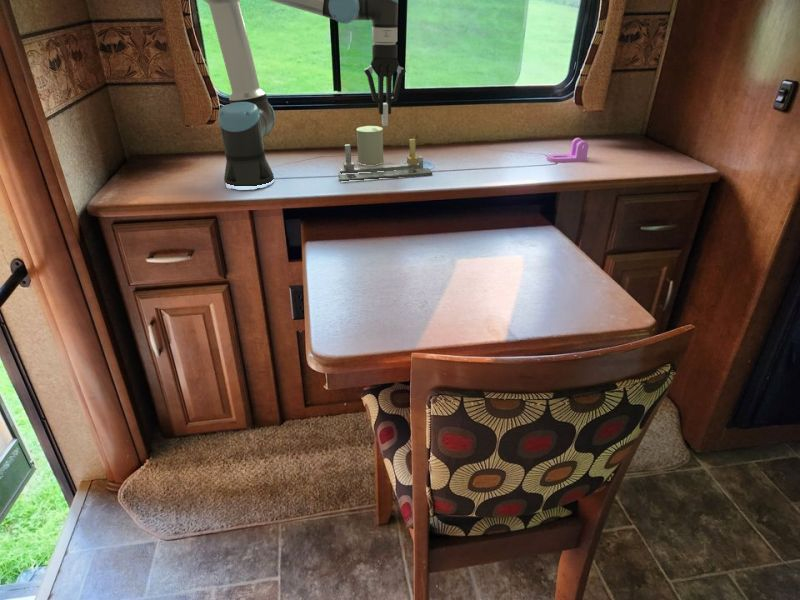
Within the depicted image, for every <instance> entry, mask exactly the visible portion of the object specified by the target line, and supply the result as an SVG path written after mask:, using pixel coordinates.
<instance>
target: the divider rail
mask: <svg viewBox="0 0 800 600" xmlns="http://www.w3.org/2000/svg"><path fill="white" fill-rule="evenodd" d="M344 153H345V162H343V168H339V174H340V173H341V174H342V173H358V172H377V171H394V170H409V169H421V168H424V157H423V156H422V155H416V157H417V158H418V164H417V165H409V164H408V163H400V164H399V163H398V164H388V165H376V166H364V167H363V166H362V167H360V166H359V167H355V164H354V161H352V150H351V144H350V143H348V144H347V143H346V144H345V143H344Z"/></svg>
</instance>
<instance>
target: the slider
mask: <svg viewBox="0 0 800 600" xmlns="http://www.w3.org/2000/svg"><path fill="white" fill-rule="evenodd" d="M406 164H409V165H417V164H418V158H417V155H416V139H415V138H409V156H407V157H406Z"/></svg>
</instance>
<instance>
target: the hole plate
mask: <svg viewBox="0 0 800 600" xmlns="http://www.w3.org/2000/svg"><path fill="white" fill-rule="evenodd" d="M415 176H416V177H427V176H433V171H432V170H431V169H430V168H429V167H423V168H421V169H409V170H396V171H384V172H371V173H359V174H346V175H340V174H338V179H339V178H340V180H341V181H349V180H364V179H379V178H393V179H400V178H399V177H405V178H415ZM340 180H339V181H340Z"/></svg>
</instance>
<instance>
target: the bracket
mask: <svg viewBox="0 0 800 600" xmlns="http://www.w3.org/2000/svg"><path fill="white" fill-rule="evenodd" d="M588 150H589V143H588V142H587V141H585V140H583V139H582V138H581V137H575V138H574V139H573V140H572V141H571V146H570V150H569V151H570V153H559V154H549V155H547V156H546V161H547V162H550V163H555V164H556V163H577V162H578V163H579V162H587V158H588V153H589V151H588Z"/></svg>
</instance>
